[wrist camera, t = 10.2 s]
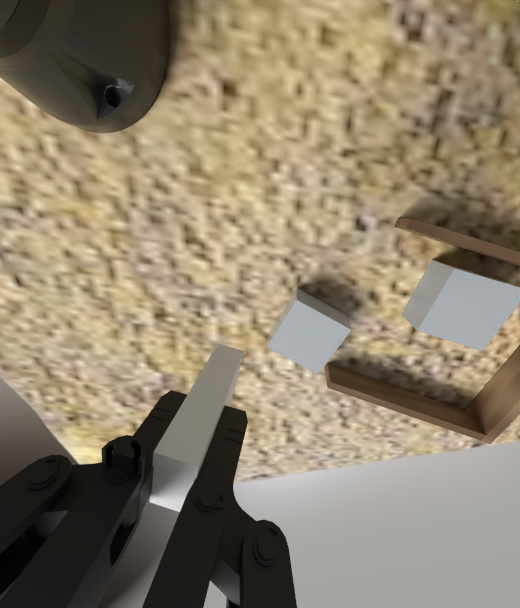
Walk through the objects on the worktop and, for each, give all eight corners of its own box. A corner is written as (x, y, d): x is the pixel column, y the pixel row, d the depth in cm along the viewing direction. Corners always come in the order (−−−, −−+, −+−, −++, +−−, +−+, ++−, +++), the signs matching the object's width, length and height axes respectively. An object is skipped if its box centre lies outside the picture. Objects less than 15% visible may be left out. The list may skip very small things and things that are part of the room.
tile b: (296, 287, 26) (296, 299, 23) (344, 313, 27) (351, 330, 23) (270, 329, 29) (266, 346, 25) (314, 353, 29) (317, 374, 25)
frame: (398, 217, 22) (415, 219, 19) (590, 278, 22) (641, 290, 19) (324, 368, 29) (327, 387, 26) (469, 417, 29) (490, 443, 25)
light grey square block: (430, 259, 23) (454, 268, 20) (492, 277, 23) (528, 290, 19) (400, 313, 26) (417, 330, 22) (456, 330, 25) (482, 350, 22)
